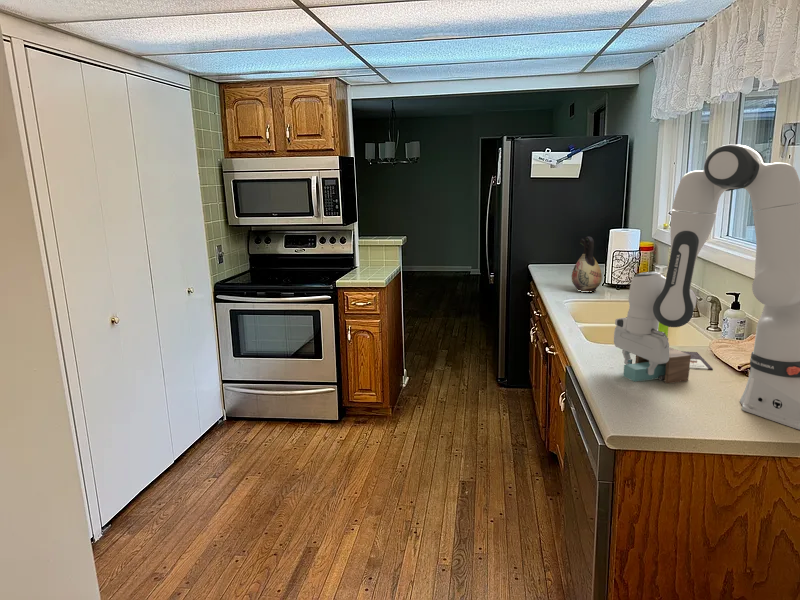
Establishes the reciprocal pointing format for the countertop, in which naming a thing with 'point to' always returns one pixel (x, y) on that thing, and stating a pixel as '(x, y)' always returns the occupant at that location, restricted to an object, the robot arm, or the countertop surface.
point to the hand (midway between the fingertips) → (638, 369)
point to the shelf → (673, 366)
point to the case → (643, 371)
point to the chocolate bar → (698, 361)
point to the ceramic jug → (587, 268)
